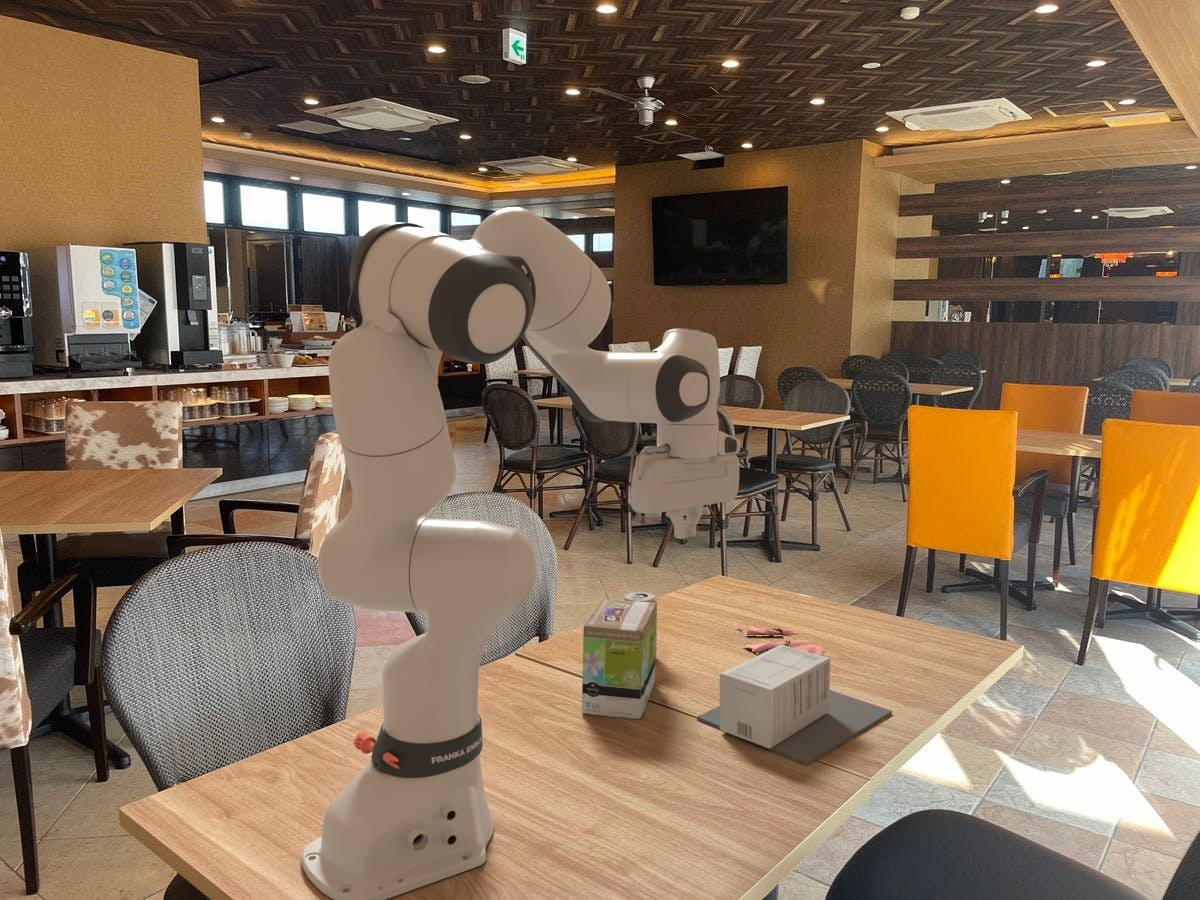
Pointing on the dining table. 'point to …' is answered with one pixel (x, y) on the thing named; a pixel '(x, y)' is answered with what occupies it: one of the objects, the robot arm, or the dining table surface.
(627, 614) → the tea box
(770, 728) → the supplement box
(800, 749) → the mat
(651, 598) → the beverage can
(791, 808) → the dining table surface
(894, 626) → the dining table surface
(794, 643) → the cloth
